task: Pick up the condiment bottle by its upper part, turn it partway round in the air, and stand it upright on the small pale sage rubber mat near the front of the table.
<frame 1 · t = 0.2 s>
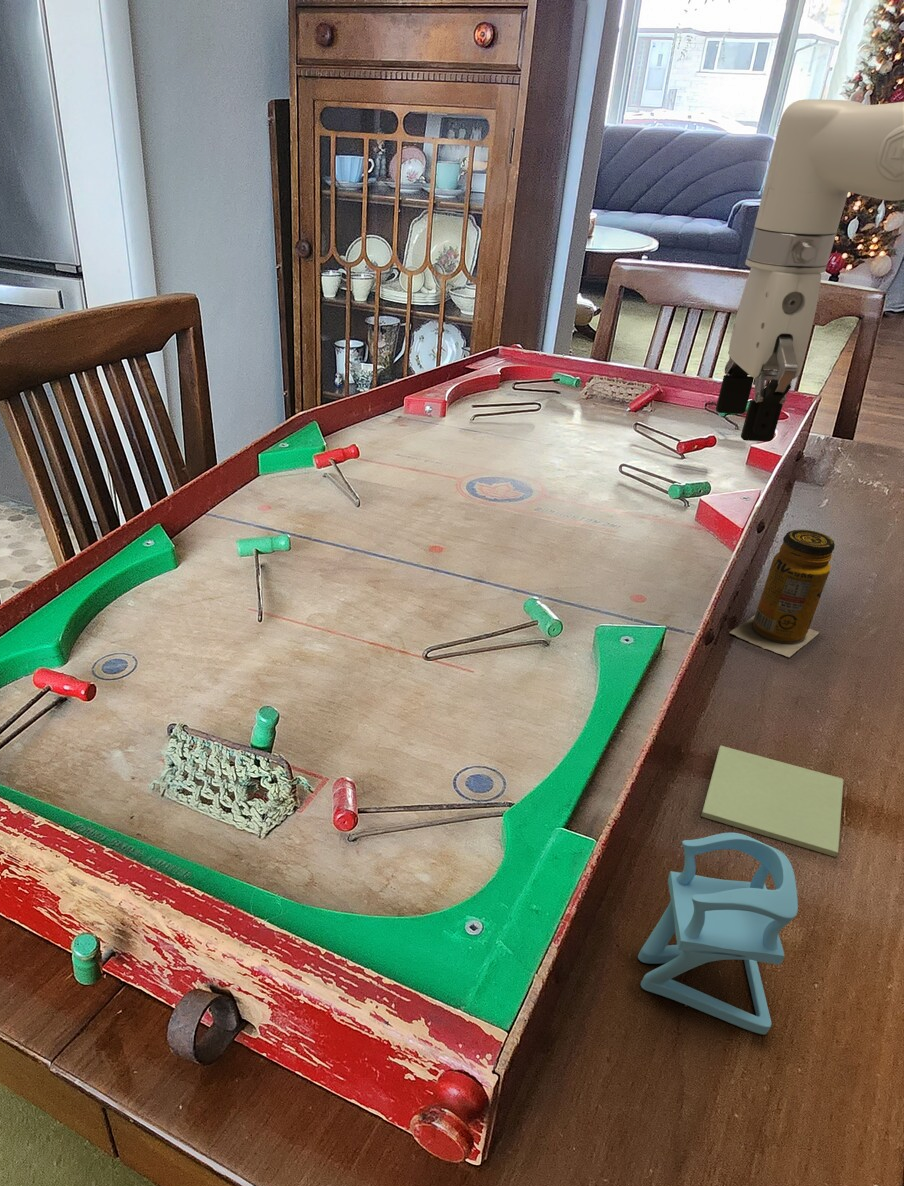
hand: (742, 425, 99), 22 cm above the table, tool pointing down, fingers open, 9 cm apart
condiment: (773, 635, 107), on the table
mat: (773, 799, 81), on the table
chair: (697, 982, 65), on the table
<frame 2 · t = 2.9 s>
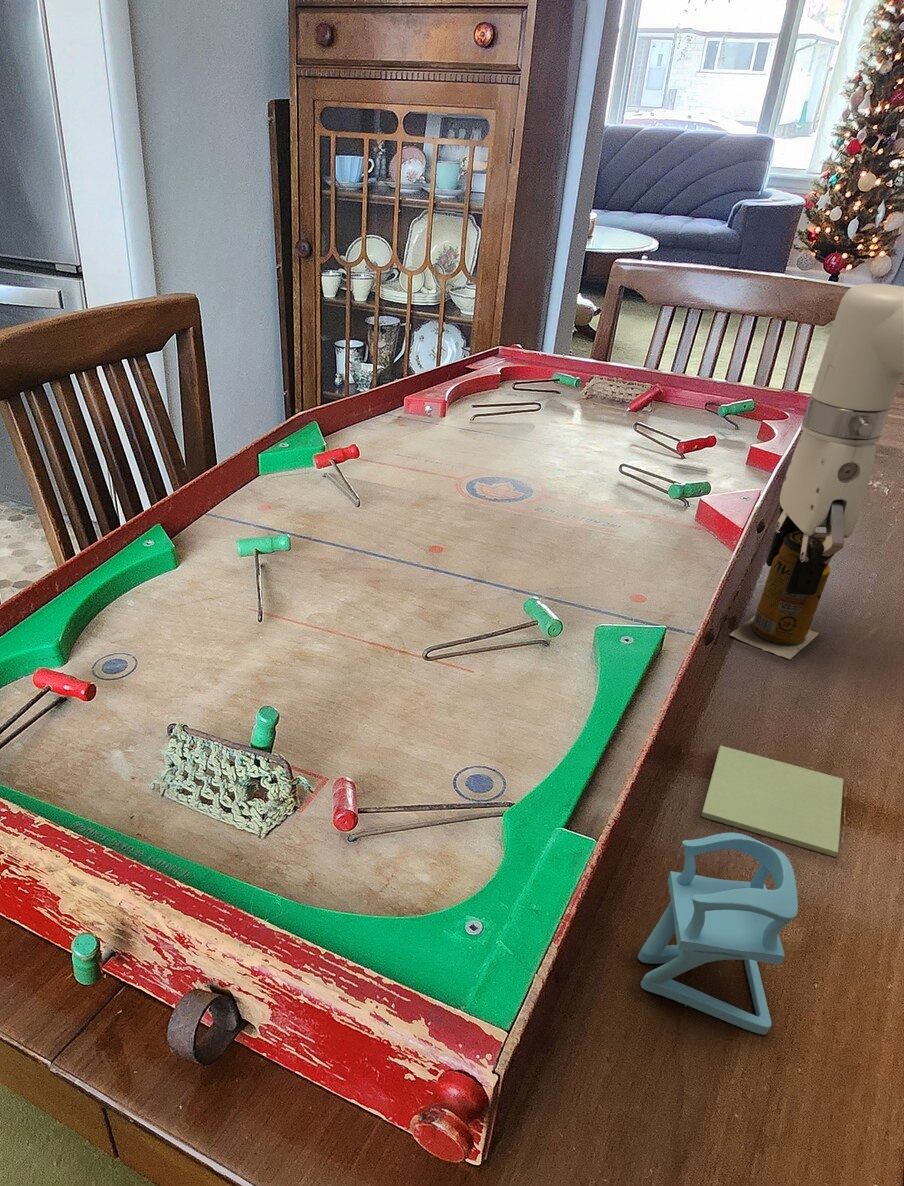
hand: (789, 577, 103), 7 cm above the table, tool pointing down, fingers closed on condiment, 6 cm apart
condiment: (773, 637, 106), on the table, touching gripper
everything else where it was.
when the fingers open (8 cm above the table, at t = 11.5 s): condiment stays where it is, resting on mat.
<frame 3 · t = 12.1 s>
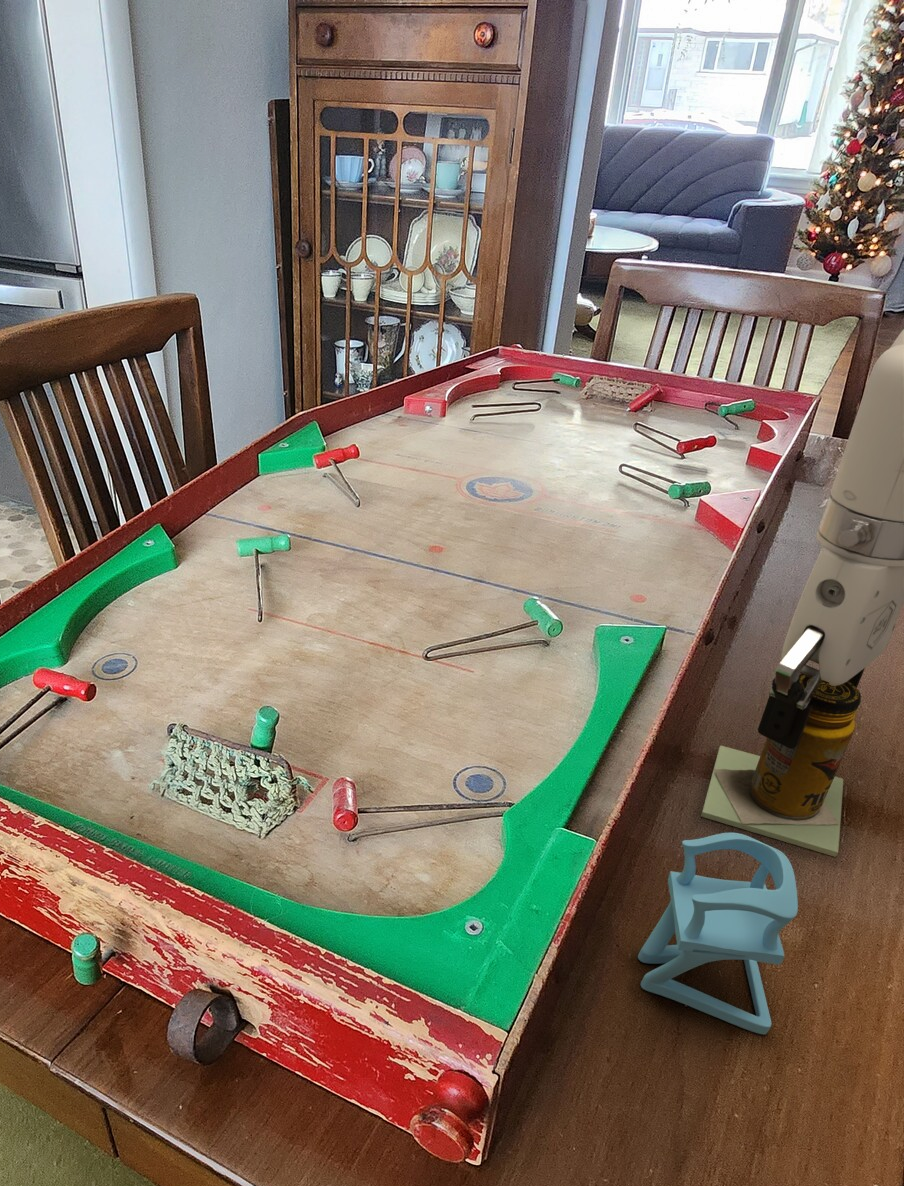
hand: (804, 717, 76), 9 cm above the table, tool pointing down, fingers open, 9 cm apart
condiment: (773, 799, 81), resting on mat
everything else where it was.
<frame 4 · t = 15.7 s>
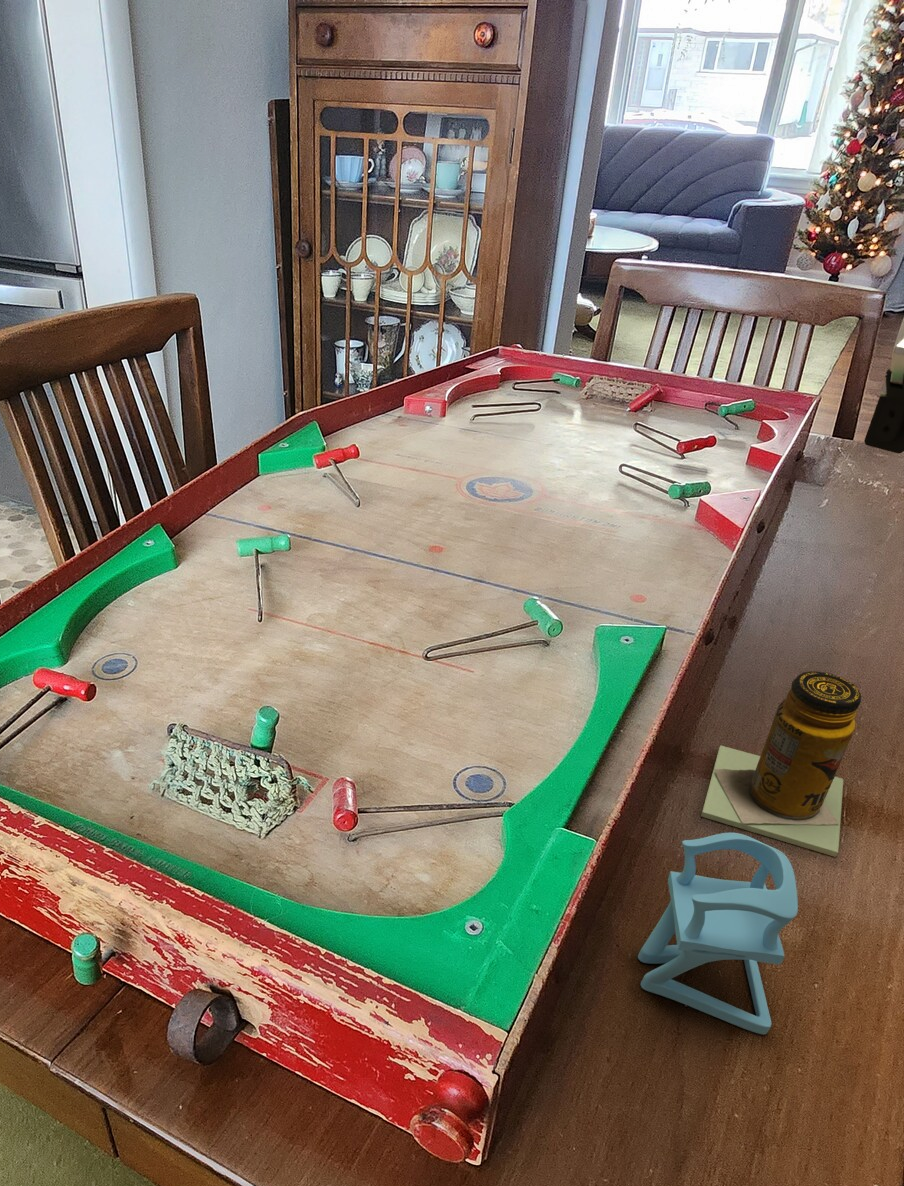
nothing on the table moved.
at the end: condiment 0.6 cm off-centre on the mat, point 0.4 cm above the mat's base; condiment tilted 0°; the gripper is holding nothing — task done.
